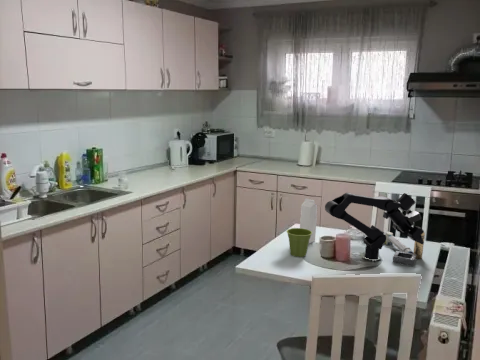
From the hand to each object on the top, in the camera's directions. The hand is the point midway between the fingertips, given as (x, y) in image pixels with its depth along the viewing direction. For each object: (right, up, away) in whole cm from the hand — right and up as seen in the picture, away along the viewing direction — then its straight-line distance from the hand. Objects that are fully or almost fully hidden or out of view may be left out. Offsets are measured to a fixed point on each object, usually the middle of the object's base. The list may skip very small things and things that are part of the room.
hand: (417, 240), depth 221 cm
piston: (0, -8, +2) cm, 9 cm away
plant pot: (-56, -7, 0) cm, 57 cm away
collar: (-8, -9, -4) cm, 13 cm away
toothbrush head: (-6, -7, +13) cm, 15 cm away
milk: (-49, -3, +20) cm, 53 cm away
